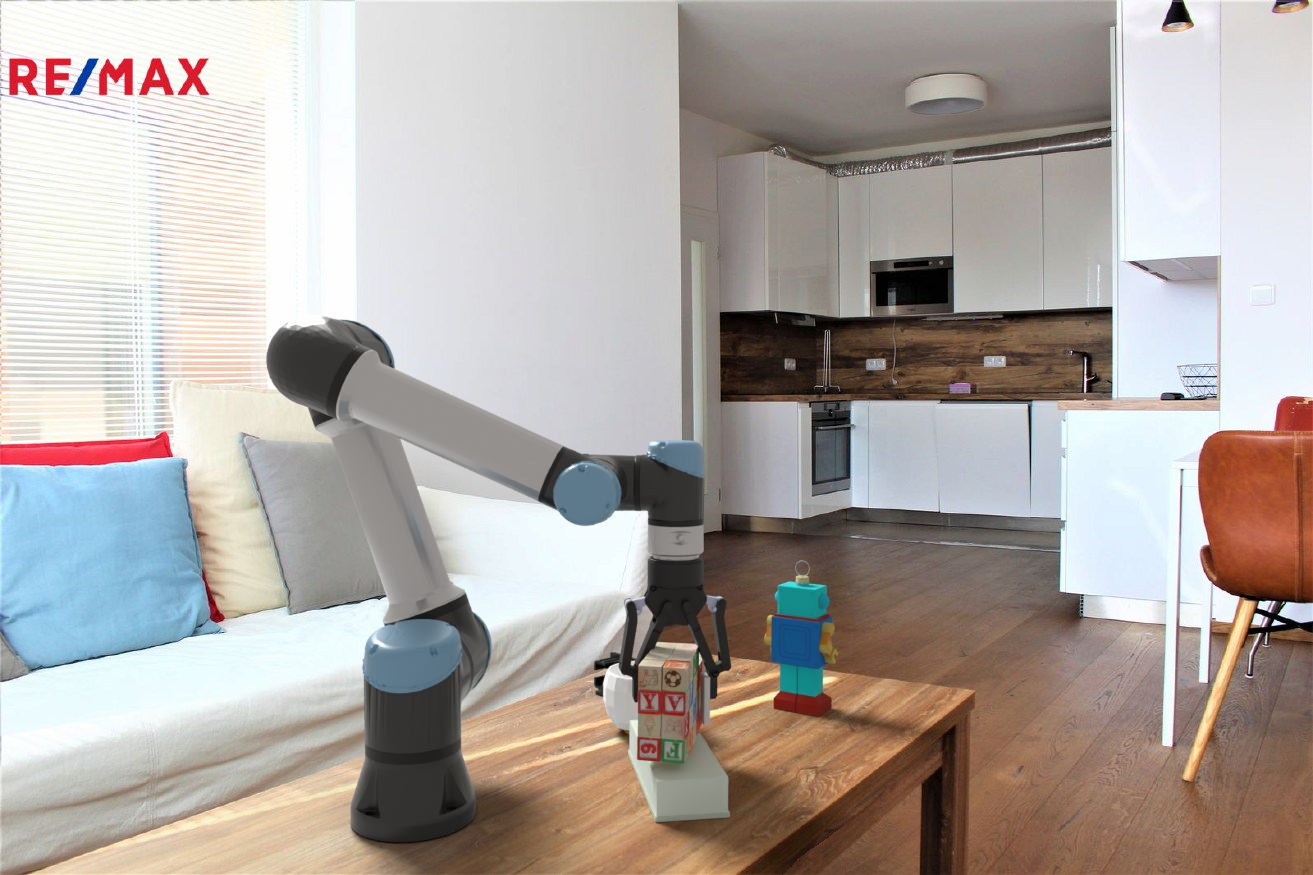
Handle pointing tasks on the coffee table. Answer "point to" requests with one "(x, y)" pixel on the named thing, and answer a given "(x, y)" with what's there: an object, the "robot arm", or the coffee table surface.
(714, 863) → the coffee table surface
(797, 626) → the toy robot
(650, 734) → the stack of blocks
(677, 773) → the plinth
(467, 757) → the coffee table surface
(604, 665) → the end cap
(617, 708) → the cup
